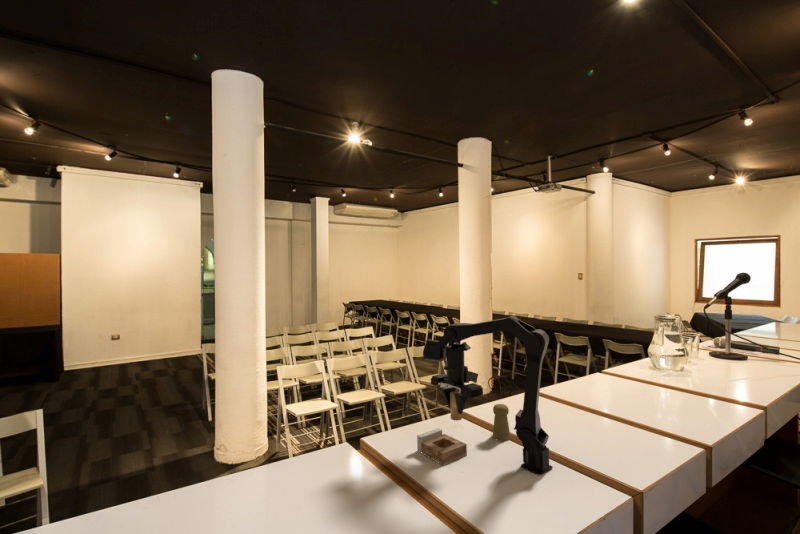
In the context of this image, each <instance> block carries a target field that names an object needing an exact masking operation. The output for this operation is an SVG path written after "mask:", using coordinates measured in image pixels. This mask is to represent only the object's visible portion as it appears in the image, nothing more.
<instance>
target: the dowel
mask: <svg viewBox="0 0 800 534" xmlns="http://www.w3.org/2000/svg"><path fill="white" fill-rule="evenodd" d="M456 393H459V391H455V392H451V393H450V407H451V410H450V420H452V421H461V420H463V413H462V414H459V413H458V409H457V404H456V400H455V395H454V394H456Z"/></svg>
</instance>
